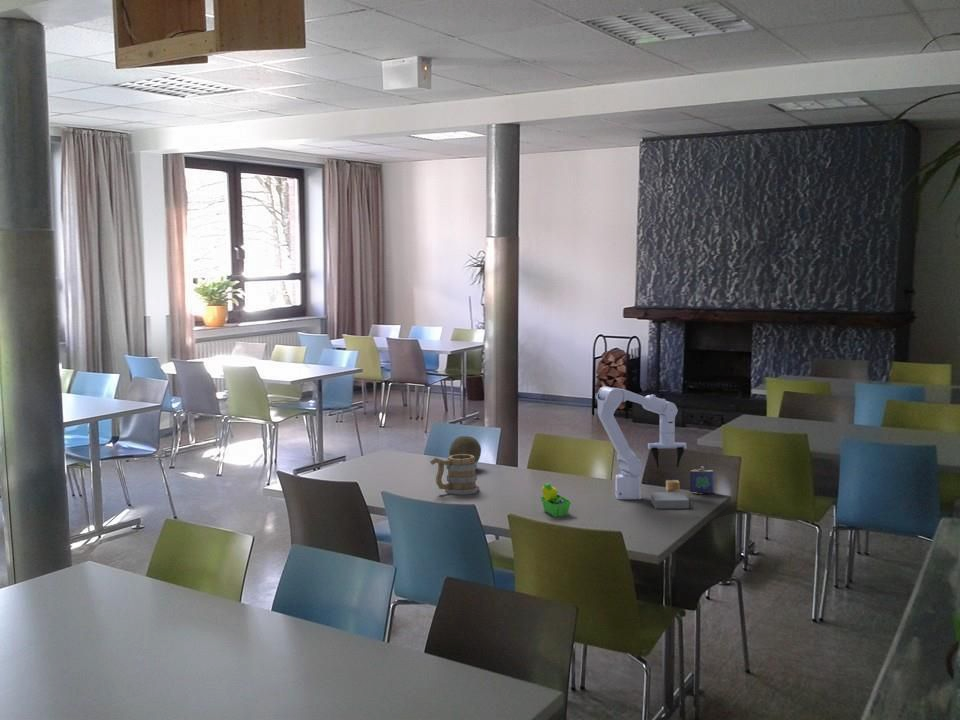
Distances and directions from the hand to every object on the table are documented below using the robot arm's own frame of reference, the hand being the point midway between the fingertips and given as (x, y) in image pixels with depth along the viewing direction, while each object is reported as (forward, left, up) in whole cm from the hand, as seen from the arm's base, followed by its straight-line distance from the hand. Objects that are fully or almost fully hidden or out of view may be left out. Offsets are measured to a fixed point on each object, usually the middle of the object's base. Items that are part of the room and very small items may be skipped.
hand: (667, 466), depth 342 cm
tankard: (-84, +5, -11) cm, 85 cm away
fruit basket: (-45, -28, -11) cm, 54 cm away
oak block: (+1, -6, -10) cm, 12 cm away
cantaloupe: (-82, +46, -11) cm, 95 cm away
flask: (+13, -1, -11) cm, 17 cm away
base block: (-2, -17, -10) cm, 20 cm away
